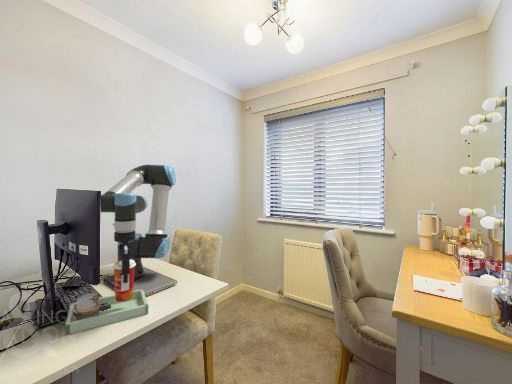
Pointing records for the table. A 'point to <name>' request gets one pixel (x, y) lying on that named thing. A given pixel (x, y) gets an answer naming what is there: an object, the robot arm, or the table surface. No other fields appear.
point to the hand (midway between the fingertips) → (124, 285)
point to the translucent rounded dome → (88, 306)
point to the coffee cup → (120, 294)
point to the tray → (109, 312)
